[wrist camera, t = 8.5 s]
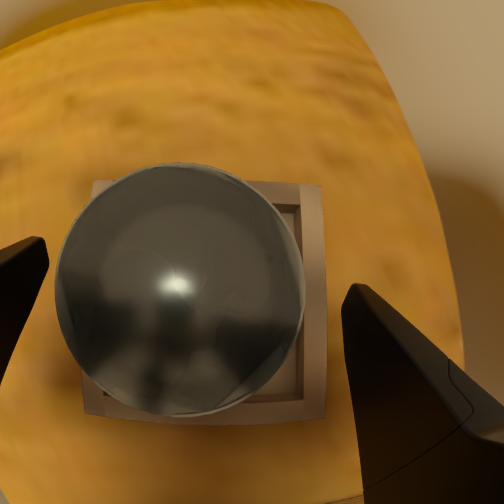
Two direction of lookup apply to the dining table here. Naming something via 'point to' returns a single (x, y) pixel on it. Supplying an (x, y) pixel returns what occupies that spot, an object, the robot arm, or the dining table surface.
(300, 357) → the taupe tray
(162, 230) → the polished metal cylinder
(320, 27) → the dining table surface
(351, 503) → the grey ratchet handle
